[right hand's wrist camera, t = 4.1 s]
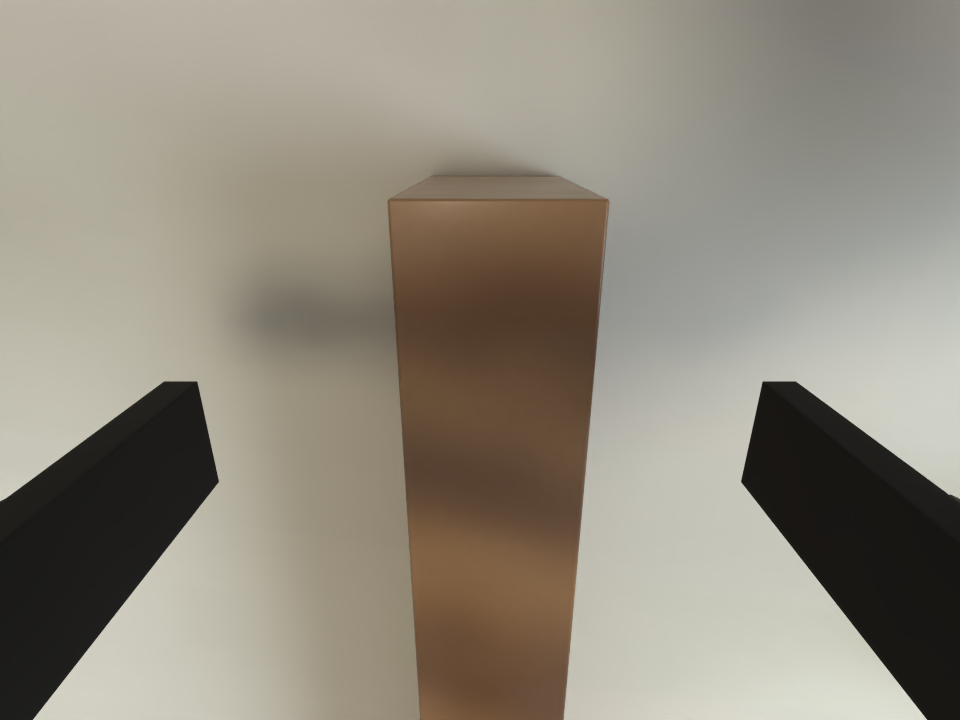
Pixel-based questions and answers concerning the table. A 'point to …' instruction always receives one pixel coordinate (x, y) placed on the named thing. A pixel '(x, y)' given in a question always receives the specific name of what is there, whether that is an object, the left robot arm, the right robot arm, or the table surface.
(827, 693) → the table surface
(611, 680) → the table surface
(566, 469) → the beam
